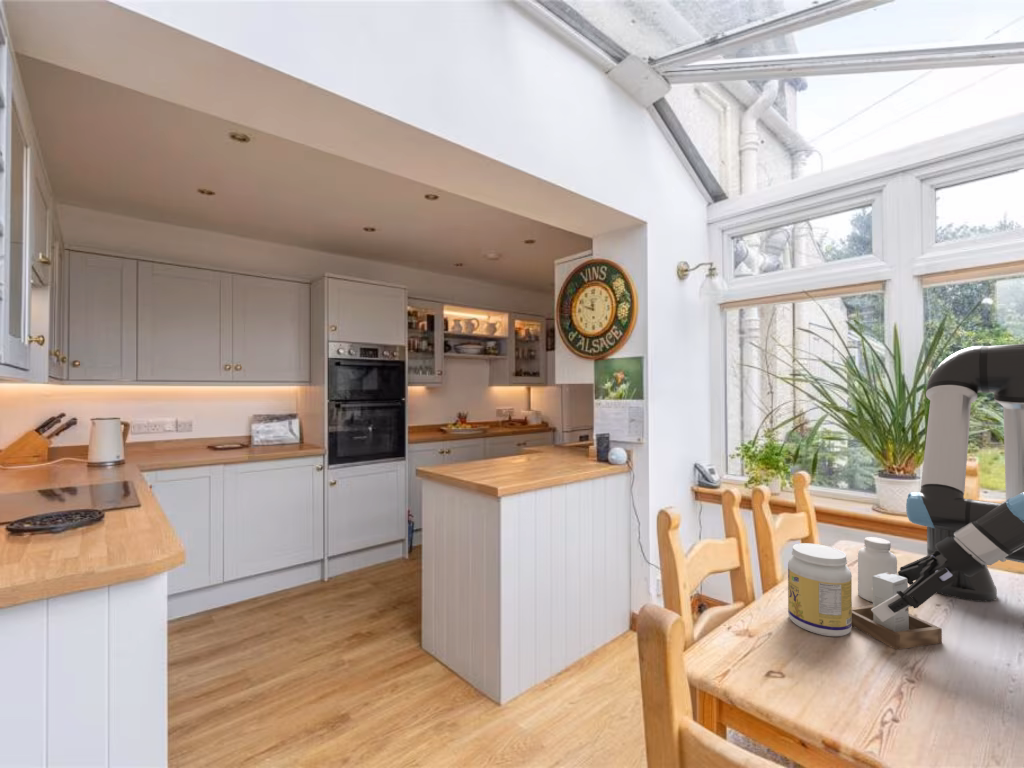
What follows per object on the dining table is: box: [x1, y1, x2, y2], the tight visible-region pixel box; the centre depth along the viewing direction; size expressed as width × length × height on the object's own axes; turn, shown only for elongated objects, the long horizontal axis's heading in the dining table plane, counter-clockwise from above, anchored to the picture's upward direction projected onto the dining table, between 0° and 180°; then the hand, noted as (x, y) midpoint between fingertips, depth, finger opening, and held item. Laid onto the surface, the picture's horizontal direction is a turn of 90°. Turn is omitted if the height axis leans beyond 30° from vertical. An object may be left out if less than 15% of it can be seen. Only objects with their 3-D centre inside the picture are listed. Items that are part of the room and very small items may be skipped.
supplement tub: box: [787, 542, 853, 637], centre depth 108 cm, size 12×12×17 cm
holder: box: [852, 604, 943, 651], centre depth 104 cm, size 12×12×3 cm
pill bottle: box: [857, 536, 898, 603], centre depth 121 cm, size 8×8×15 cm
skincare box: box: [872, 572, 910, 632], centre depth 104 cm, size 6×4×12 cm
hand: (876, 604), depth 106 cm, fingers open, 13 cm apart
